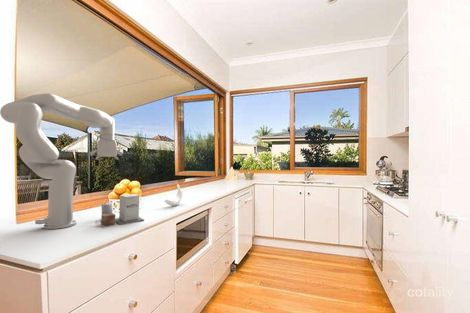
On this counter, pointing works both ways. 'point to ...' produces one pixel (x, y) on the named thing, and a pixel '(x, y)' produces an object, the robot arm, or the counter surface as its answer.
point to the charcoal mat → (127, 221)
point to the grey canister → (106, 208)
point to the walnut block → (108, 219)
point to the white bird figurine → (177, 199)
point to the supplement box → (129, 207)
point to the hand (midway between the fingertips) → (106, 166)
